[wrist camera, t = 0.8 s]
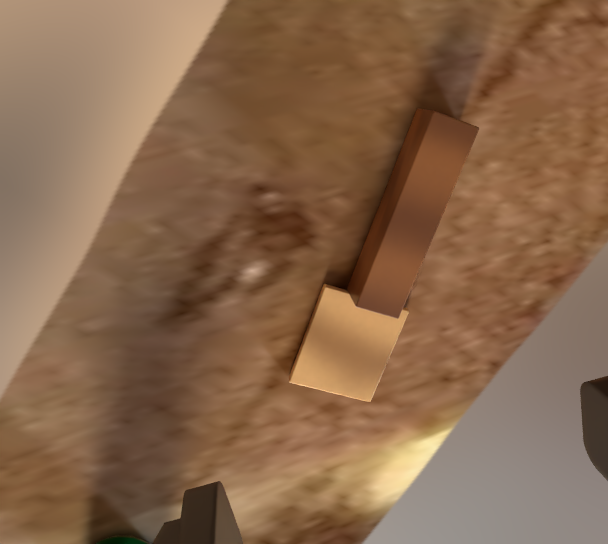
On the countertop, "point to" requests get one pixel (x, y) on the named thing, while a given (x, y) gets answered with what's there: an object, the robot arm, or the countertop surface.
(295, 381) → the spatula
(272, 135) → the countertop surface
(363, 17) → the countertop surface
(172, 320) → the countertop surface
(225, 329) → the countertop surface
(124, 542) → the soda can
